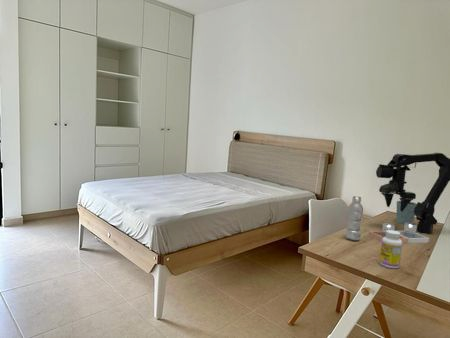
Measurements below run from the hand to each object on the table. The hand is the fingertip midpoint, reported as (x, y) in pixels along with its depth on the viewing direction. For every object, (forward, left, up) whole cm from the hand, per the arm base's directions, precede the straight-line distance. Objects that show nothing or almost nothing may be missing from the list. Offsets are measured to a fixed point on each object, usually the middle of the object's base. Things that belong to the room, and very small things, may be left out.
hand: (394, 209), depth 160 cm
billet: (+2, +13, -11) cm, 17 cm away
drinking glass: (-22, -16, -12) cm, 30 cm away
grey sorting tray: (+8, +13, -12) cm, 19 cm away
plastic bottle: (+30, +10, -12) cm, 34 cm away
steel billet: (+14, +13, -11) cm, 22 cm away
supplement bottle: (+34, +38, -12) cm, 52 cm away
